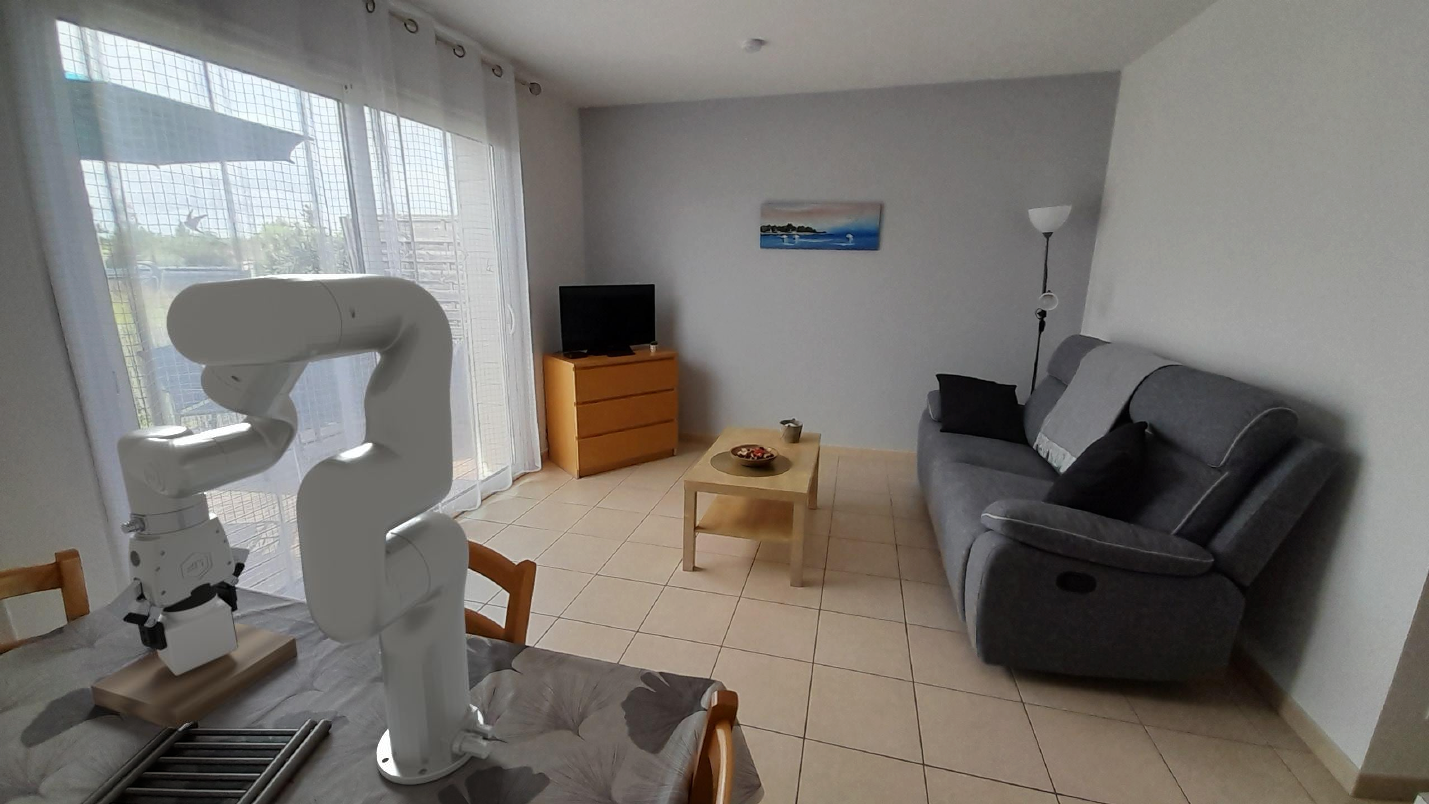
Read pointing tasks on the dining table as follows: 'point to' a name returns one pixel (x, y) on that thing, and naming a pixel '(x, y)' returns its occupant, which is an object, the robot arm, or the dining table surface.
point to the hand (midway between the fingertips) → (194, 627)
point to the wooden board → (193, 680)
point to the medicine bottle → (197, 630)
